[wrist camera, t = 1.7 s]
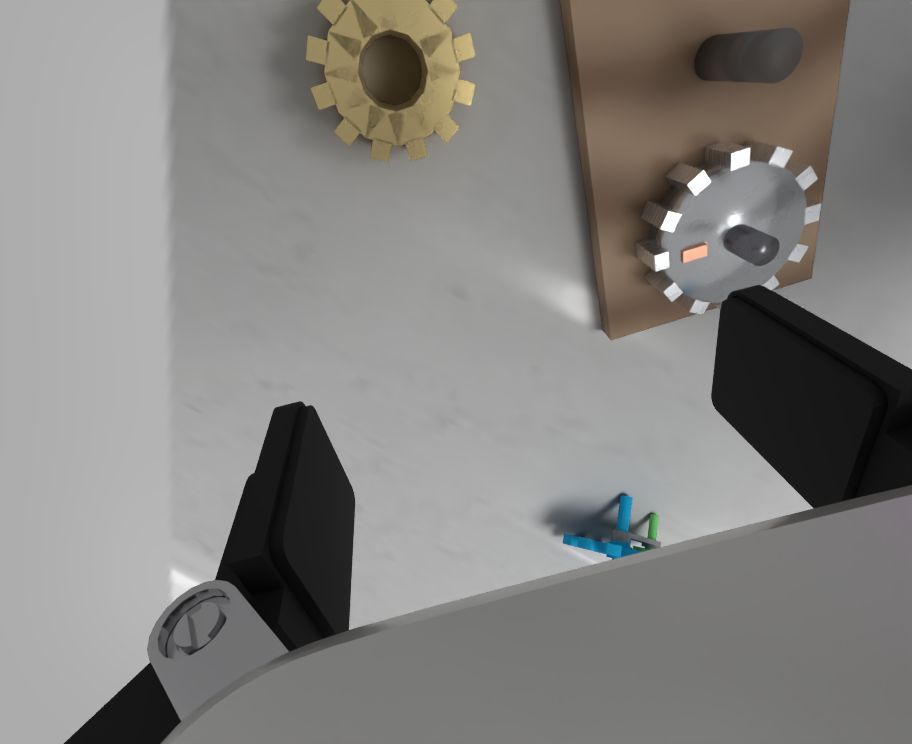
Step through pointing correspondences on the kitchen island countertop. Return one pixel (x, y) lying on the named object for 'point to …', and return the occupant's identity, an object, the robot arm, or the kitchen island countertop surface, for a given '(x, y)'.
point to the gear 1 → (620, 536)
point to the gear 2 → (727, 223)
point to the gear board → (690, 115)
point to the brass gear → (354, 29)
